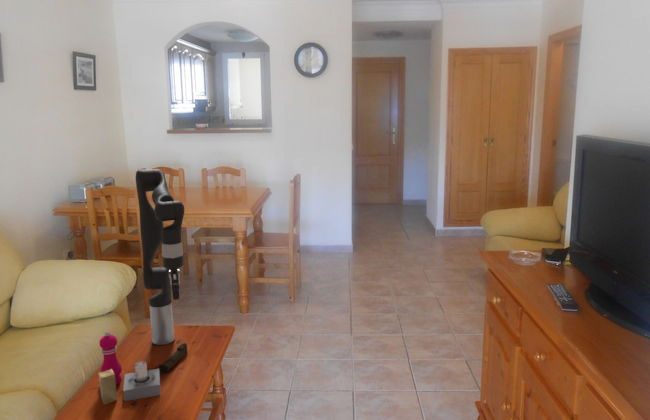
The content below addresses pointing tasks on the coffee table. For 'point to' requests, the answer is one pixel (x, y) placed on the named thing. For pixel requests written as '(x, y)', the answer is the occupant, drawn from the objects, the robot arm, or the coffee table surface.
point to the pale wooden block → (108, 386)
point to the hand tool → (173, 358)
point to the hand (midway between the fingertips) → (175, 295)
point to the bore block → (141, 386)
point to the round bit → (141, 372)
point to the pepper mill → (110, 355)
